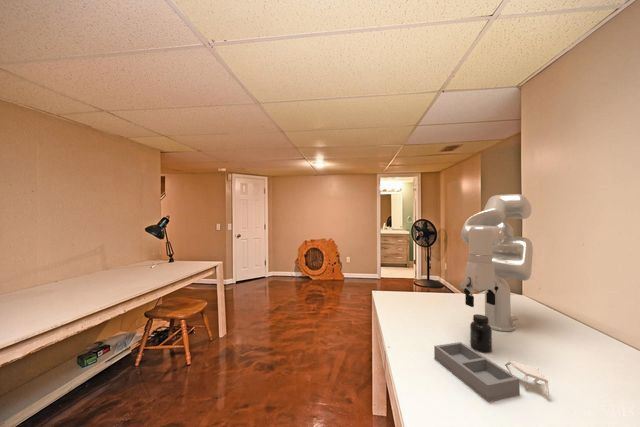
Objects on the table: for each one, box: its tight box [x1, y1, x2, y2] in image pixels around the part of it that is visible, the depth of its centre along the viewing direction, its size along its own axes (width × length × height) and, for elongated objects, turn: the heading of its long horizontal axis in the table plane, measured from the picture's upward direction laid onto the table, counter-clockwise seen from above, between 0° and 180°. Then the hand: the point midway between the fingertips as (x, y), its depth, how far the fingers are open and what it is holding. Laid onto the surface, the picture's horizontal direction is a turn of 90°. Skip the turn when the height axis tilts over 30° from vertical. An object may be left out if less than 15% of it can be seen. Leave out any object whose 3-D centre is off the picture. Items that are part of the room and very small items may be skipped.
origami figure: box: [504, 360, 550, 399], centre depth 75 cm, size 12×8×5 cm
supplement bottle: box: [469, 314, 493, 354], centre depth 95 cm, size 7×7×12 cm
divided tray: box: [434, 341, 521, 403], centre depth 79 cm, size 11×21×4 cm, turn 14°
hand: (480, 304), depth 94 cm, fingers open, 9 cm apart
